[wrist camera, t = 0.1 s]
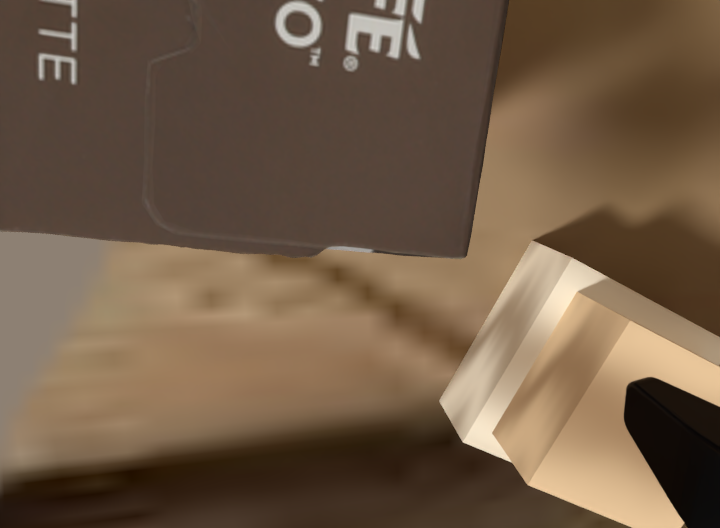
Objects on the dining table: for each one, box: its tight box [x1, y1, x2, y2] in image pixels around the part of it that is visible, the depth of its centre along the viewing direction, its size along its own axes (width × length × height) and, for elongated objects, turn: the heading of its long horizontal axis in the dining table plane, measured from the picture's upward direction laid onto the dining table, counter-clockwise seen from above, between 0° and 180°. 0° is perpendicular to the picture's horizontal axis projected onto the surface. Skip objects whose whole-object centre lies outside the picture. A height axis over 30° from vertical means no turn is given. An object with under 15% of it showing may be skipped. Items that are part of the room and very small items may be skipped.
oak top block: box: [492, 292, 720, 528], centre depth 21 cm, size 7×7×4 cm
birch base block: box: [439, 241, 720, 462], centre depth 25 cm, size 9×9×4 cm
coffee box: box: [0, 0, 509, 259], centre depth 14 cm, size 9×6×16 cm
